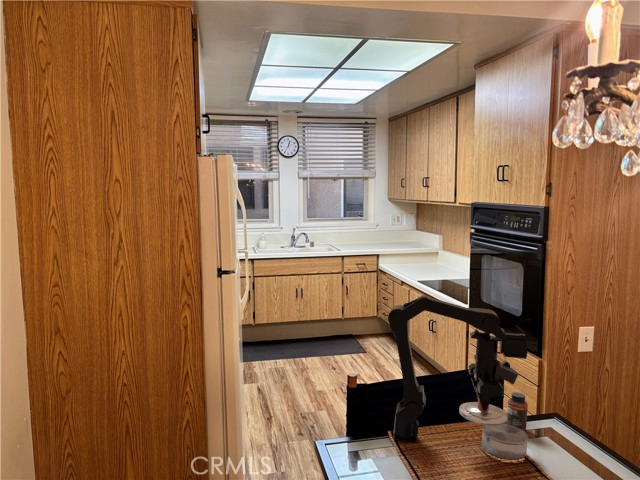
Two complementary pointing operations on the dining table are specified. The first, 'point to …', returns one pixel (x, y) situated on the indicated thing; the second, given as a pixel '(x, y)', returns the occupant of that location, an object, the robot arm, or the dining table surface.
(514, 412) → the supplement bottle
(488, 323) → the robot arm
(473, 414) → the lid
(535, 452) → the dining table surface
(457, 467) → the dining table surface
